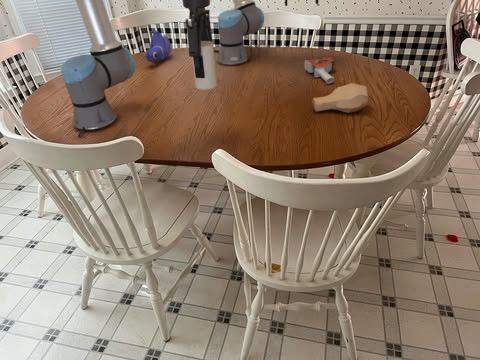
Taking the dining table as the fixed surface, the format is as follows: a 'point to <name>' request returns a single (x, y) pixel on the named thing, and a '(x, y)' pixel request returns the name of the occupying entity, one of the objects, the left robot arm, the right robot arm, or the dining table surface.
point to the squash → (343, 99)
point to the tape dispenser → (321, 68)
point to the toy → (158, 48)
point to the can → (206, 67)
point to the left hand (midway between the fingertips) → (204, 73)
